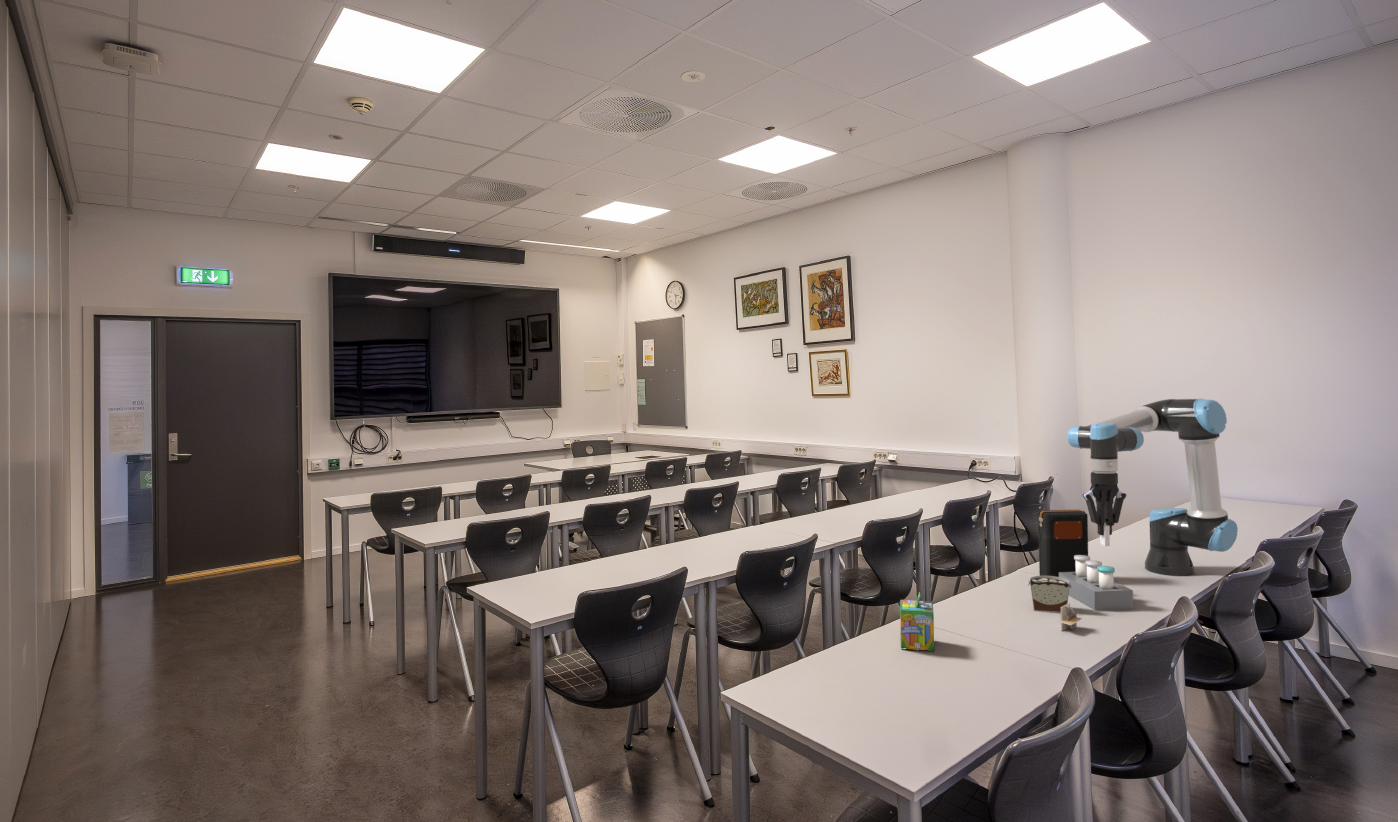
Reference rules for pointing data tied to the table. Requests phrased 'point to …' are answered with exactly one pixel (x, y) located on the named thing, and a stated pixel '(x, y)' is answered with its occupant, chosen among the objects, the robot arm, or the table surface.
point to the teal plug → (1106, 577)
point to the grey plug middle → (1092, 571)
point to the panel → (1098, 593)
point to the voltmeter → (1061, 540)
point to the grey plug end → (1081, 565)
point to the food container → (1049, 593)
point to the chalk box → (917, 624)
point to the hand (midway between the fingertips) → (1104, 544)
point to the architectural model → (1068, 618)
